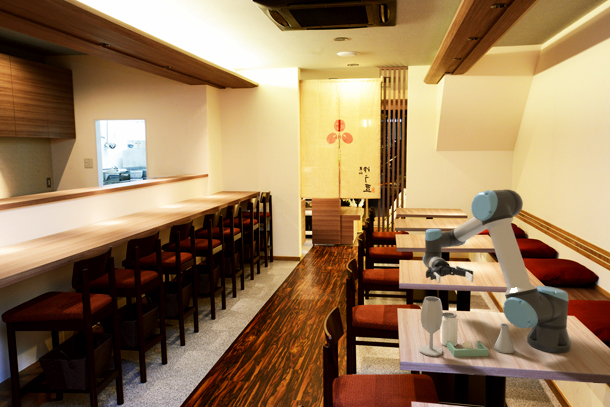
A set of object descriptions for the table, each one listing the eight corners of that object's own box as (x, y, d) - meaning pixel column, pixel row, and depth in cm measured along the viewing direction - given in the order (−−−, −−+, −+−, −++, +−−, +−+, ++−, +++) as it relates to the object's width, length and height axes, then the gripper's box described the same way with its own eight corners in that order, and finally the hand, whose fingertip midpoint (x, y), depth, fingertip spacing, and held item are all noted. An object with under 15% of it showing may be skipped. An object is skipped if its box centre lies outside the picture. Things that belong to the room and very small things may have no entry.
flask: (510, 346, 175) (511, 321, 174) (516, 354, 168) (518, 328, 167) (491, 345, 176) (491, 321, 175) (497, 353, 169) (498, 328, 168)
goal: (446, 347, 175) (446, 341, 174) (479, 346, 175) (479, 340, 175) (453, 356, 167) (454, 350, 166) (488, 356, 167) (488, 349, 167)
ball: (475, 352, 170) (473, 341, 172) (472, 350, 167) (470, 339, 169) (464, 353, 172) (463, 343, 174) (461, 351, 169) (460, 340, 171)
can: (456, 348, 174) (456, 318, 172) (439, 345, 177) (439, 316, 175) (458, 342, 179) (458, 313, 178) (441, 339, 182) (442, 311, 181)
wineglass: (415, 352, 171) (416, 299, 168) (425, 345, 177) (426, 293, 175) (436, 359, 165) (438, 304, 163) (446, 351, 172) (447, 298, 169)
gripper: (466, 274, 203) (486, 287, 182) (412, 275, 203) (425, 288, 182) (466, 258, 203) (486, 269, 181) (412, 259, 202) (425, 270, 181)
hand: (456, 279), depth 182 cm, fingers open, 13 cm apart
